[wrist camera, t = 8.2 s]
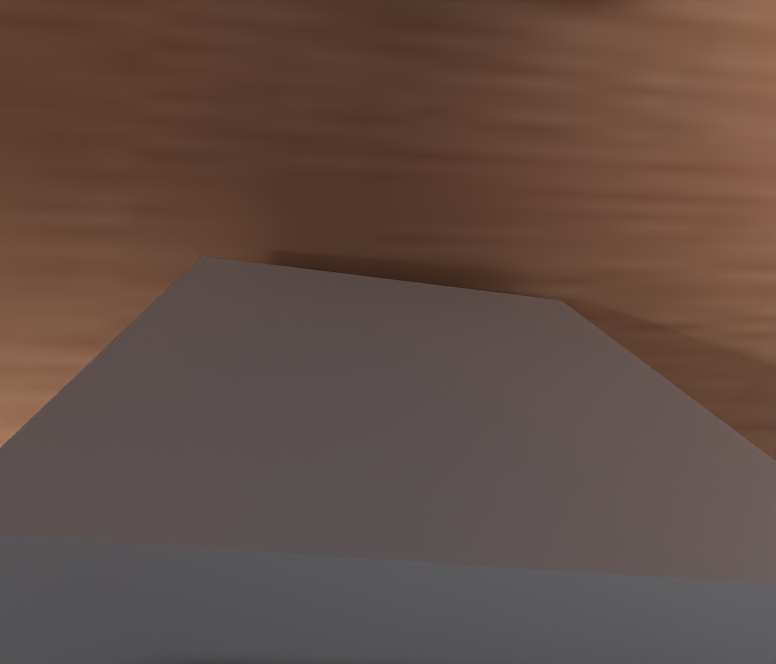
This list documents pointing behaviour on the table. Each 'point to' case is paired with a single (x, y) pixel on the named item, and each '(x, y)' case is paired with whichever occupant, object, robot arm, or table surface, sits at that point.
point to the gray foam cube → (379, 489)
